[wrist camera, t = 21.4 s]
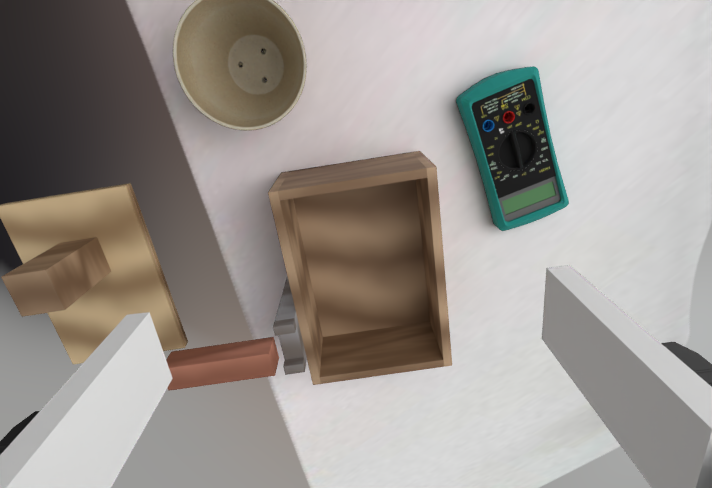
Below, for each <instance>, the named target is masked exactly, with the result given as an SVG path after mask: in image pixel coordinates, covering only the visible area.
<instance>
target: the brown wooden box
mask: <svg viewBox="0 0 712 488" xmlns="http://www.w3.org/2000/svg"><path fill="white" fill-rule="evenodd" d="M268 195H269V199H270V203H271V208H272V212H273V216H274V220H275V225H276V229H277V233H278V237H279V242H280V246H281V250H282V254H283V259H284V263H285V267H286V271H287V280H286V283H285V287H284V290H283V294H282V297H281V301H280V304H279V308H278V311H277V315H276V318H275V322H274V325H273V329H274V333H275V336H277V335H279V339H280V343H281V347H282V351H283V355H284V359H285V362H284V366H283V367H284V371H285V375H286V374H293V373H301V372H305V366H306V358H307V361H308V365H309V369H310V374H311V378H312V382H313V385H316V384H323V383H330V382H338V381H345V380H352V379H359V378H366V377H373V376H380V375H387V374H394V373H401V372H409V371H416V370H423V369H430V368H437V367H444V366H451V365H452V357H451V344H450V332H449V319H448V307H447V294H446V281H445V269H444V256H443V244H442V231H441V218H440V206H439V193H438V181H437V168H436V166H435V165H434V164H433V163H432V162H431V161H430V160H429V159H428V158H427V157H426V156H425V155H424V154H423V153H421V152H420V151H416V152H410V153H403V154H397V155H390V156H384V157H378V158H371V159H365V160H358V161H352V162H346V163H339V164H333V165H326V166H320V167H314V168H307V169H301V170H294V171H288V172H282V173H281V174H280V175H279V177H278V178H277V180H276V181H275V183H274V184H273V186H272V187H271V189H270V190H269V192H268Z"/></svg>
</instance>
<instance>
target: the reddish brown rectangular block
mask: <svg viewBox="0 0 712 488" xmlns="http://www.w3.org/2000/svg"><path fill="white" fill-rule="evenodd" d="M278 360H279V356H278V352H277V348H276V344H275V340H274V337H270V338H263V339H256V340H249V341H242V342H235V343H228V344H222V345H215V346H208V347H201V348H194V349H187V350H181V351H173V352H171V353H170V355H169V356H168V358H167V360H166V361H167V364H168V367H169V369H170V372H171V375H172V378H173V379H172V380H171V382H170V384H169V386H168V390H176V389H183V388H190V387H197V386H204V385H211V384H218V383H225V382H233V381H239V380H247V379H254V378H261V377H268V376H275V373H276V369H277V364H278Z"/></svg>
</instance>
